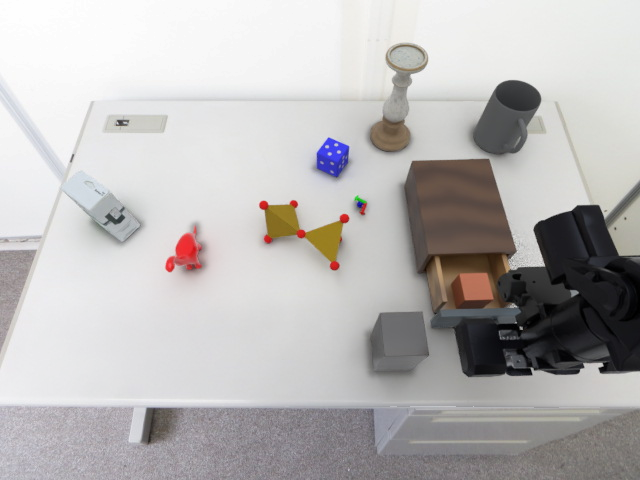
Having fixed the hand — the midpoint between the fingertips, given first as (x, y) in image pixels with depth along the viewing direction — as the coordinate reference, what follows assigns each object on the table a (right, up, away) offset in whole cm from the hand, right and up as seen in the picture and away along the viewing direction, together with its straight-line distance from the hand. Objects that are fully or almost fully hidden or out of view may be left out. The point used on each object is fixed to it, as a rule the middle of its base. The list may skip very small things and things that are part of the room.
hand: (510, 359), depth 50 cm
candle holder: (-10, +39, +35) cm, 53 cm away
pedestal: (-14, -3, +12) cm, 19 cm away
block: (0, +6, +15) cm, 16 cm away
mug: (+13, +36, +33) cm, 51 cm away
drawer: (0, +8, +17) cm, 18 cm away
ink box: (-66, +19, +25) cm, 73 cm away
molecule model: (-27, +18, +24) cm, 40 cm away
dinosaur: (-49, +12, +21) cm, 55 cm away
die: (-23, +32, +31) cm, 50 cm away
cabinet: (0, +19, +23) cm, 30 cm away
